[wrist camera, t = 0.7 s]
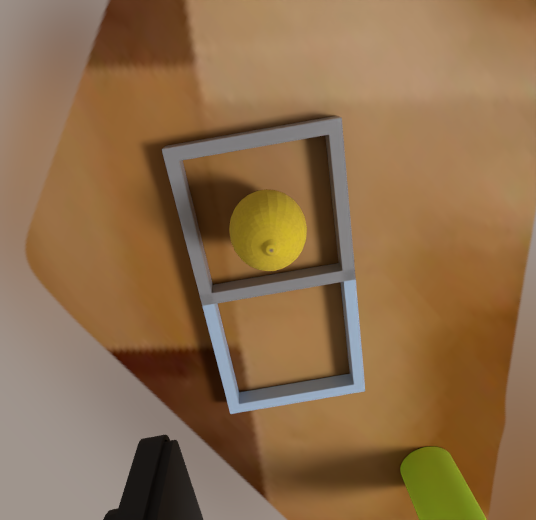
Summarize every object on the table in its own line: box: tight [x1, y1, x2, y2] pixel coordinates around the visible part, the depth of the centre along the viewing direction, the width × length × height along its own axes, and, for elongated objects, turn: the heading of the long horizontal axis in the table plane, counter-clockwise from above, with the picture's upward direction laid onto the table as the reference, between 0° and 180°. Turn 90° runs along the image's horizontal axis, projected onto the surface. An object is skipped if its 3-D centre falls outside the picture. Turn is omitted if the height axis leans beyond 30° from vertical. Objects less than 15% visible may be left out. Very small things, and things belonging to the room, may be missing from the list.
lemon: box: [229, 190, 307, 271], centre depth 30 cm, size 6×6×8 cm
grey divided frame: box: [162, 116, 365, 414], centre depth 35 cm, size 25×13×2 cm, turn 9°
